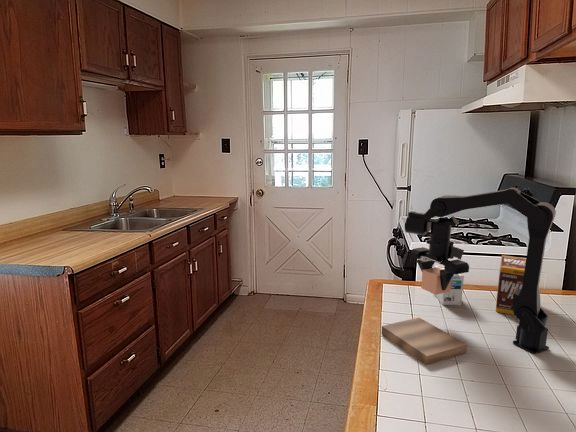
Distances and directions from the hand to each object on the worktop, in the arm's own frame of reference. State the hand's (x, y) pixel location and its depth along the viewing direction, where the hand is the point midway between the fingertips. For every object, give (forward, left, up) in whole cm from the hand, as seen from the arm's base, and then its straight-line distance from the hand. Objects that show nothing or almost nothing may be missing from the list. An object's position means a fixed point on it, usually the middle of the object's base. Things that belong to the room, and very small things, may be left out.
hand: (435, 286), depth 128 cm
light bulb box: (+10, -16, -11) cm, 22 cm away
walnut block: (-10, +14, -12) cm, 21 cm away
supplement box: (-4, -32, -11) cm, 34 cm away
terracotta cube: (0, 0, -1) cm, 1 cm away
